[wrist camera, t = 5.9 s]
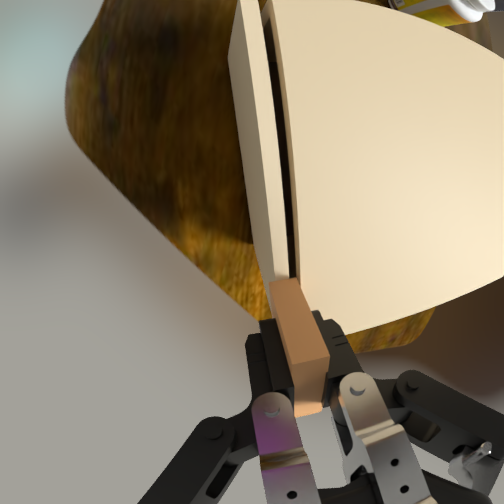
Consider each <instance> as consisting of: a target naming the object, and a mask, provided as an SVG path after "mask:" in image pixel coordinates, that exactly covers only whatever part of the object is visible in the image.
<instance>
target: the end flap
mask: <svg viewBox="0 0 504 504" xmlns="http://www.w3.org/2000/svg"><path fill="white" fill-rule="evenodd" d="M228 64H229V71H230V78H231V85H232V92H233V100H234V107H235V114H236V121H237V128H238V135H239V142H240V149H241V156H242V164H243V171H244V178H245V185H246V192H247V200H248V207H249V214H250V221H251V229H252V236H253V243H254V249H255V252H256V256H257V260H258V264H259V267H260V271H261V275H262V279H263V282H264V286H265V290H266V294H267V297H268V301H269V305H270V309H271V312H272V318H275V319H276V322H277V325H278V329H279V332H280V336H281V340H282V343H283V347H284V351H285V354H286V358H287V362H288V365H289V369H290V373H291V376H292V380H293V383H294V416H295V418H296V417H301V416H305V415H309V414H313V413H317V412H321V410H322V404H321V401H322V395H323V389H324V383H325V376H326V372H328V367H329V360H330V354H329V352H328V349H327V347H326V345H325V342H324V340H323V338H322V335H321V333H320V331H319V328H318V326H317V324H316V321H315V319H314V317H313V314H312V312H311V310H310V308H309V305H308V303H307V301H306V298H305V296H304V294H303V292H302V289H301V287H300V285H299V283H298V281H297V278H296V277H295V278H290V279H289V267H288V252H287V237H286V224H285V212H284V200H283V189H282V178H281V168H280V158H279V148H278V139H277V130H276V122H275V113H274V105H273V97H272V89H271V82H270V75H269V67H268V60H267V54H266V47H265V40H264V34H263V28H262V22H261V16H260V10H259V4H258V0H238V2H237V7H236V12H235V17H234V23H233V28H232V34H231V40H230V46H229V52H228Z"/></svg>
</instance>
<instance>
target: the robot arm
mask: <svg viewBox="0 0 504 504" xmlns="http://www.w3.org/2000/svg"><path fill="white" fill-rule="evenodd" d="M494 2H495V9H494V10H493V11H504V0H494ZM493 11H486V12H493ZM311 312H312V314H313V317H314V319H315V321H316V324H317V326H318V328H319V331H320V333H321V335H322V338H323V340H324V342H325V345H326V347H327V349H328V352H329V354H330V360H329V367H328V372H326V376H325V383H324V389H323V395H322V401H321V404H322V407H323V408H324V407H328V406H330V408H331V411H332V417H331V420H332V424H333V427H334V431H335V434H336V437H337V441H338V444H339V447H340V450H341V454H342V458H343V471H344V475H345V479H346V482H347V485H346V486H344V487H340V488H328V489H317V487H316V483H315V480H314V476H313V472H312V469H311V465H310V462H309V459H308V456H307V454H306V453H305V451H304V448H303V445H302V441H301V437H300V434H299V430H298V427H297V423H296V419H295V416H294V383H293V380H292V376H291V373H290V369H289V365H288V362H287V358H286V354H285V351H284V347H283V343H282V340H281V336H280V332H279V329H278V325H277V322H276V319H275V318H272V319H266V320H260V321H259V327H260V333H256V334H250V335H248V338H247V340H246V343H245V348H246V355H247V362H248V369H249V377H250V384H251V391H252V400H251V403H250V404H249V406H248V407H247V409H245V410H244V411H243V412H241V413H240V414H237V415H235V416H233V417H230V418H228V419H225V418H222V417H215V416H214V417H209V418H206V419H204V420H202V421H201V422H200V423H199V424H198V425H197V426H196V428H195V429H194V431H193V432H192V433H191V435H190V436H189V437H188V439H187V440H186V442H185V443H184V444H183V446H182V447H181V448H180V450H179V451H178V452H177V454H176V455H175V456H174V458H173V459H172V460H171V462H170V463H169V464H168V466H167V467H166V468H165V470H164V471H163V472H162V473H161V475H160V476H159V477H158V479H157V480H156V481H155V483H154V484H153V485H152V486H151V487H150V489H149V490H148V491H147V493H146V494H145V495H144V496H143V497H142V499H141V500H140V501H139V502H138V503H137V504H217V503H218V502H219V501H220V499H221V497H222V496H223V494H224V493H225V492H226V490H227V488H228V487H229V485H230V484H231V482H232V481H233V479H234V477H235V476H236V474H237V473H238V471H239V469H240V468H241V466H242V464H243V463H244V462H245V461H247V460H249V459H251V458H254V457H256V456H258V455H259V456H260V466H261V473H262V478H263V484H264V489H265V494H266V499H267V504H492V502H491V500H490V498H489V497H488V495H489V493H490V492H491V490H492V488H493V486H494V484H495V481H496V479H497V477H498V475H499V473H500V471H501V468H502V466H503V463H504V415H503V414H501V413H499V412H497V411H495V410H493V409H491V408H489V407H487V406H485V405H483V404H481V403H479V402H477V401H475V400H473V399H471V398H469V397H467V396H465V395H463V394H461V393H459V392H457V391H455V390H453V389H452V388H450V387H448V386H446V385H444V384H442V383H440V382H438V381H436V380H434V379H433V378H431V377H429V376H427V375H425V374H423V373H421V372H419V371H416V370H408V371H405V372H404V373H402V374H401V375H400V376H399V377H398V379H386V380H379V379H374V378H372V377H371V376H369V375H368V374H365V373H364V371H363V370H362V368H361V366H360V364H359V362H358V360H357V358H356V356H355V354H354V352H353V350H352V348H351V346H350V344H349V343H348V340H347V338H346V336H345V334H344V332H343V330H342V328H341V326H340V325H339V324H338V323H337V322H335V321H334V320H333V319H327V320H323V318H322V316H321V313H320V311H319V310H313V311H311ZM410 442H411V443H413V444H415V445H416V446H418V447H420V448H422V449H424V450H425V451H427V452H429V453H431V454H433V455H435V456H437V457H438V458H441V459H443V460H444V461H446V462H448V463H450V464H449V469H448V473H449V474H450V475H452V476H453V477H454V478H455V479H456V480H457V481H458V483H459V485H458V484H456V483H453V482H451V481H448V480H446V479H443V478H441V477H439V476H436V475H434V474H431V473H429V472H427V471H425V470H423V469H421V468H420V465H419V463H418V461H417V458H416V455H415V453H414V451H413V448H412V446H411V443H410Z"/></svg>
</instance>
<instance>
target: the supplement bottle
mask: <svg viewBox="0 0 504 504" xmlns="http://www.w3.org/2000/svg"><path fill="white" fill-rule="evenodd" d="M388 2H389V4H390V7H391V9H393V10H396V11H400V12H403V13H406V14H409V15H412V16H415V17H418V18H421V19H424V20H426V21H429V22H432V23H434V24H437V25H439V26H441V27H444V26H449V25H456V24H462V23H470V22H476V21H479V20H480V19H481V18H482V14H483V12H486V11H493V10H494V9H495V2H494V0H388Z"/></svg>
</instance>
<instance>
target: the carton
mask: <svg viewBox="0 0 504 504" xmlns="http://www.w3.org/2000/svg"><path fill="white" fill-rule="evenodd" d="M260 16H261V22H262V28H263V34H264V40H265V47H266V54H267V60H268V67H269V75H270V82H271V89H272V97H273V105H274V113H275V122H276V130H277V139H278V148H279V158H280V168H281V178H282V189H283V200H284V212H285V224H286V237H287V252H288V267H289V279H290V278H295V277H296V278H297V281H298V283H299V285H300V287H301V289H302V292H303V294H304V296H305V298H306V301H307V303H308V305H309V308H310V310H311V311H313V310H319V311H320V313H321V316H322V318H323V320H327V319H333V320H334V321H335V322H337V323H338V324H339V325H340V326H341V328H342V330H343V332H344V334H345V335H347V334H350V333H354V332H358V331H361V330H365V329H368V328H372V327H375V326H378V325H381V324H385V323H388V322H391V321H394V320H397V319H400V318H403V317H406V316H409V315H412V314H415V313H418V312H421V311H423V310H426V309H429V308H431V307H434V306H437V305H439V304H442V303H444V302H447V301H450V300H452V299H454V298H457V297H459V296H462V295H464V294H466V293H469V292H471V291H473V290H475V289H478V288H480V287H482V286H484V285H486V284H488V283H491V282H493V281H495V280H497V279H499V278H501V277H503V275H504V59H502V58H501V57H499V56H498V55H496V54H494V53H493V52H491V51H489V50H488V49H486V48H484V47H482V46H481V45H479V44H477V43H475V42H473V41H471V40H469V39H467V38H465V37H463V36H461V35H459V34H457V33H455V32H453V31H451V30H448V29H446V28H444V27H441V26H439V25H437V24H434V23H432V22H429V21H426V20H424V19H421V18H418V17H415V16H412V15H409V14H406V13H403V12H400V11H396V10H393V9H389V8H386V7H382V6H378V5H374V4H369V3H365V2H360V1H355V0H267V2H266V4H265V6H264V8H263V10H262V12H261V14H260Z"/></svg>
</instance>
